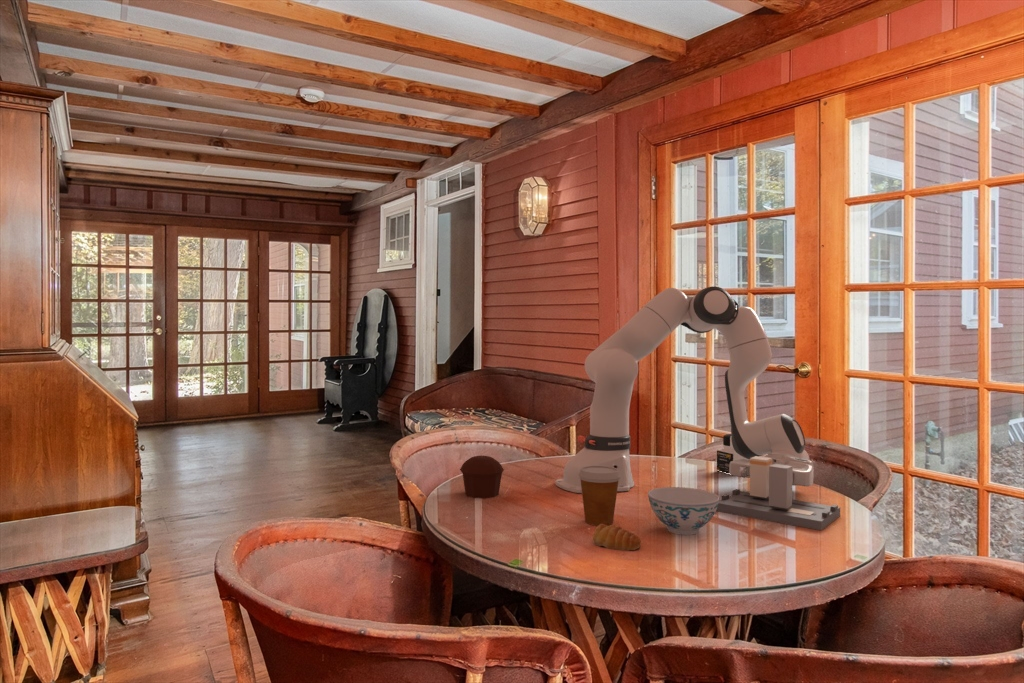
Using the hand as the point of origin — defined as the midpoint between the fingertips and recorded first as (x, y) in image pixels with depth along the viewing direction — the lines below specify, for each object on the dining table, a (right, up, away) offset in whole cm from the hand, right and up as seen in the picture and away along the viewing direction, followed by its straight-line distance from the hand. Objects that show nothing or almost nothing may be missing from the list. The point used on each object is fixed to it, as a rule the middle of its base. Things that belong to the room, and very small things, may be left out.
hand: (760, 476), depth 160 cm
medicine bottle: (+7, -8, +41) cm, 43 cm away
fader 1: (0, -5, 0) cm, 5 cm away
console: (+2, -8, -5) cm, 10 cm away
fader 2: (+1, -5, -10) cm, 11 cm away
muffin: (-70, -7, +11) cm, 71 cm away
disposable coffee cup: (-42, -8, -14) cm, 45 cm away
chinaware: (-25, -8, -20) cm, 32 cm away
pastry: (-41, -8, -30) cm, 51 cm away
